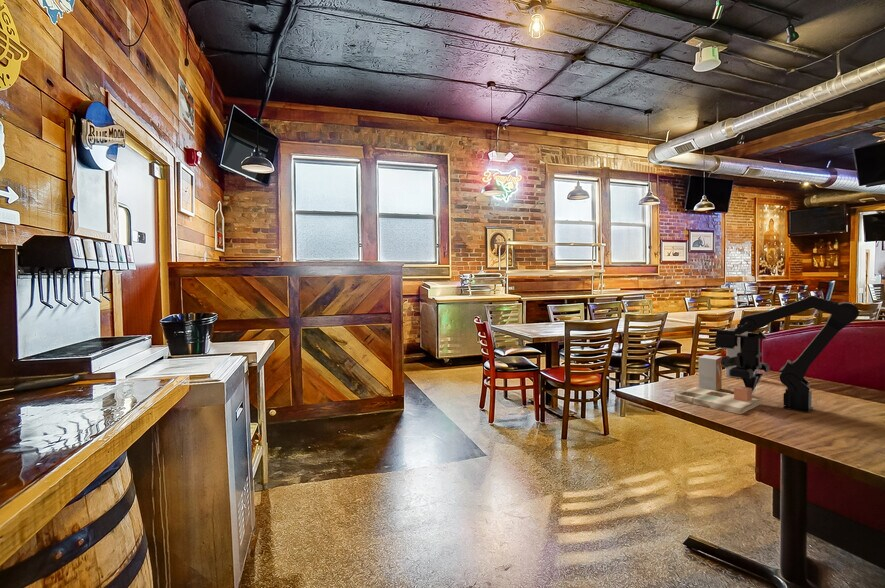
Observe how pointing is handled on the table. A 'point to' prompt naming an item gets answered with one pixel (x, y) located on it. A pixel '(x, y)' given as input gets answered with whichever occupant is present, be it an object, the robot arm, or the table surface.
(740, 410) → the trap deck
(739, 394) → the block
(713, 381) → the small box
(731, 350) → the grey upright slab
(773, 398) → the table surface
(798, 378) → the robot arm
